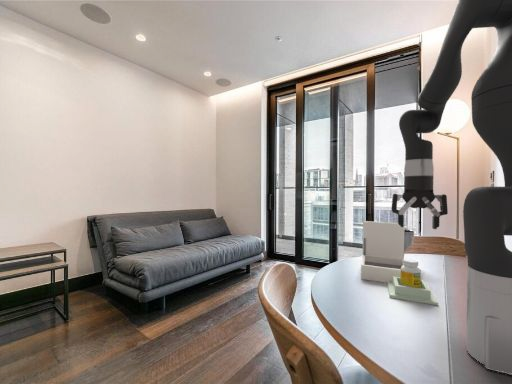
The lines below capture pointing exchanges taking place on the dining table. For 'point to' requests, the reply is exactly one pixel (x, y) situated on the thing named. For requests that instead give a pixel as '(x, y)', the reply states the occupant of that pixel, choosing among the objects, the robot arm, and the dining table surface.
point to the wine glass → (408, 238)
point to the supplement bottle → (410, 273)
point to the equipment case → (382, 251)
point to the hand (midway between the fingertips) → (417, 227)
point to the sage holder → (411, 292)
